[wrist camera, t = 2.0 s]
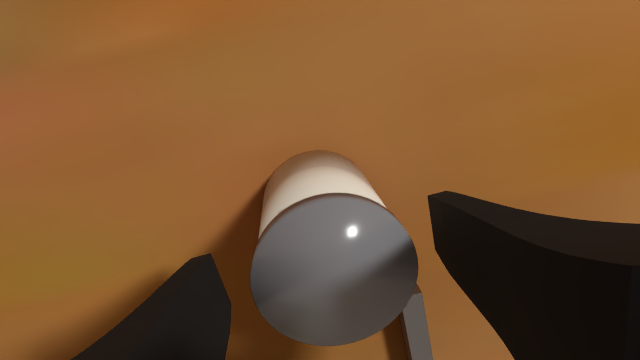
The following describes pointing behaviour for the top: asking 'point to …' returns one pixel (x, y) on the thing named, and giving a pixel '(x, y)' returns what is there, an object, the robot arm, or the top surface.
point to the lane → (416, 328)
